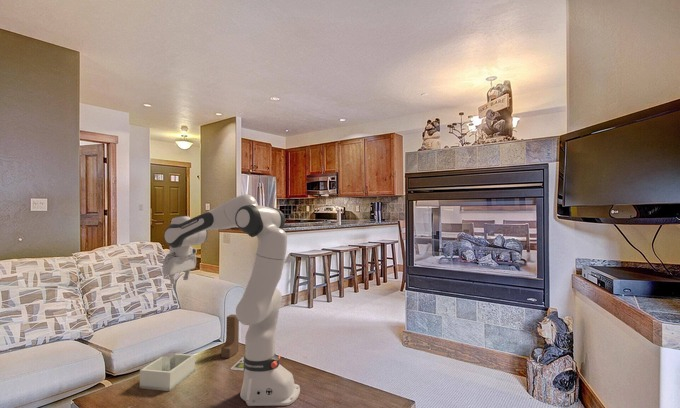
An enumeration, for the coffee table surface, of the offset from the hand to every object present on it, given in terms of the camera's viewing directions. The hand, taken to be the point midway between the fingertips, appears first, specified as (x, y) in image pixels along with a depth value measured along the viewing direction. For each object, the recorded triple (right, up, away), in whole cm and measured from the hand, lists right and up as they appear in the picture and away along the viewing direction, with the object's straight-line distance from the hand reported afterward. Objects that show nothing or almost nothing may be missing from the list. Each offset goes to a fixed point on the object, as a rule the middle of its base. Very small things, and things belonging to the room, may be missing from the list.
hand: (179, 281), depth 159 cm
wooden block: (+20, -38, +10) cm, 44 cm away
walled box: (+3, -37, -16) cm, 40 cm away
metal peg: (+3, -36, -15) cm, 39 cm away
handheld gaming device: (+30, -38, 0) cm, 49 cm away
